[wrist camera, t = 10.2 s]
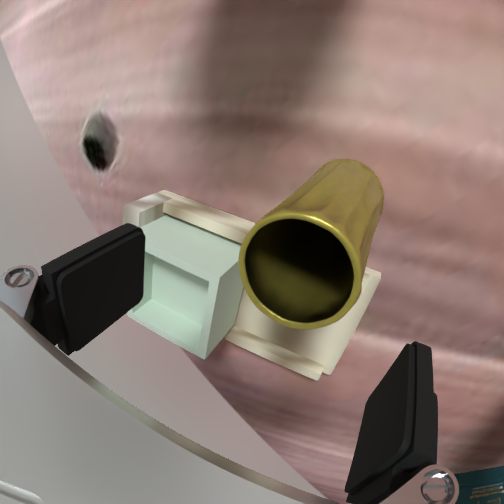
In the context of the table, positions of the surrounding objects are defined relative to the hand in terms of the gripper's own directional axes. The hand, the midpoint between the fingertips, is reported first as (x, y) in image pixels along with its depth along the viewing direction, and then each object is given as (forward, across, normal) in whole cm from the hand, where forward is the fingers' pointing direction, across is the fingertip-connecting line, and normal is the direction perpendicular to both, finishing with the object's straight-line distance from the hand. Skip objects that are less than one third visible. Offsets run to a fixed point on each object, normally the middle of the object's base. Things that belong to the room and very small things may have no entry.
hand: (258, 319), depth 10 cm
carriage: (+16, +10, +11) cm, 22 cm away
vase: (+18, 0, 0) cm, 18 cm away
